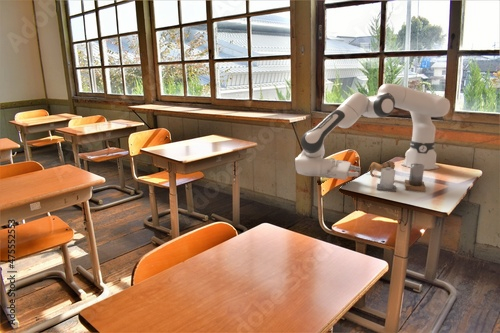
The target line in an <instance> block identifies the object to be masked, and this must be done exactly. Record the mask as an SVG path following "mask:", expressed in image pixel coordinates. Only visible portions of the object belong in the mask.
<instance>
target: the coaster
mask: <svg viewBox="0 0 500 333" xmlns="http://www.w3.org/2000/svg"><path fill="white" fill-rule="evenodd" d="M376 191H383V192H390V193H391V192H392V193H396V192H397V186H396V185H395V184H394V186H393V189H384V188H381V187H380V183H377V184H376Z"/></svg>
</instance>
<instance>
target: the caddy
mask: <svg viewBox="0 0 500 333" xmlns="http://www.w3.org/2000/svg"><path fill="white" fill-rule="evenodd" d="M426 188H427V187H426V185H425V181H424V180H422V186H412V185H409V179H405V180H404V190H405V191H411V192H420V193H426Z"/></svg>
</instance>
